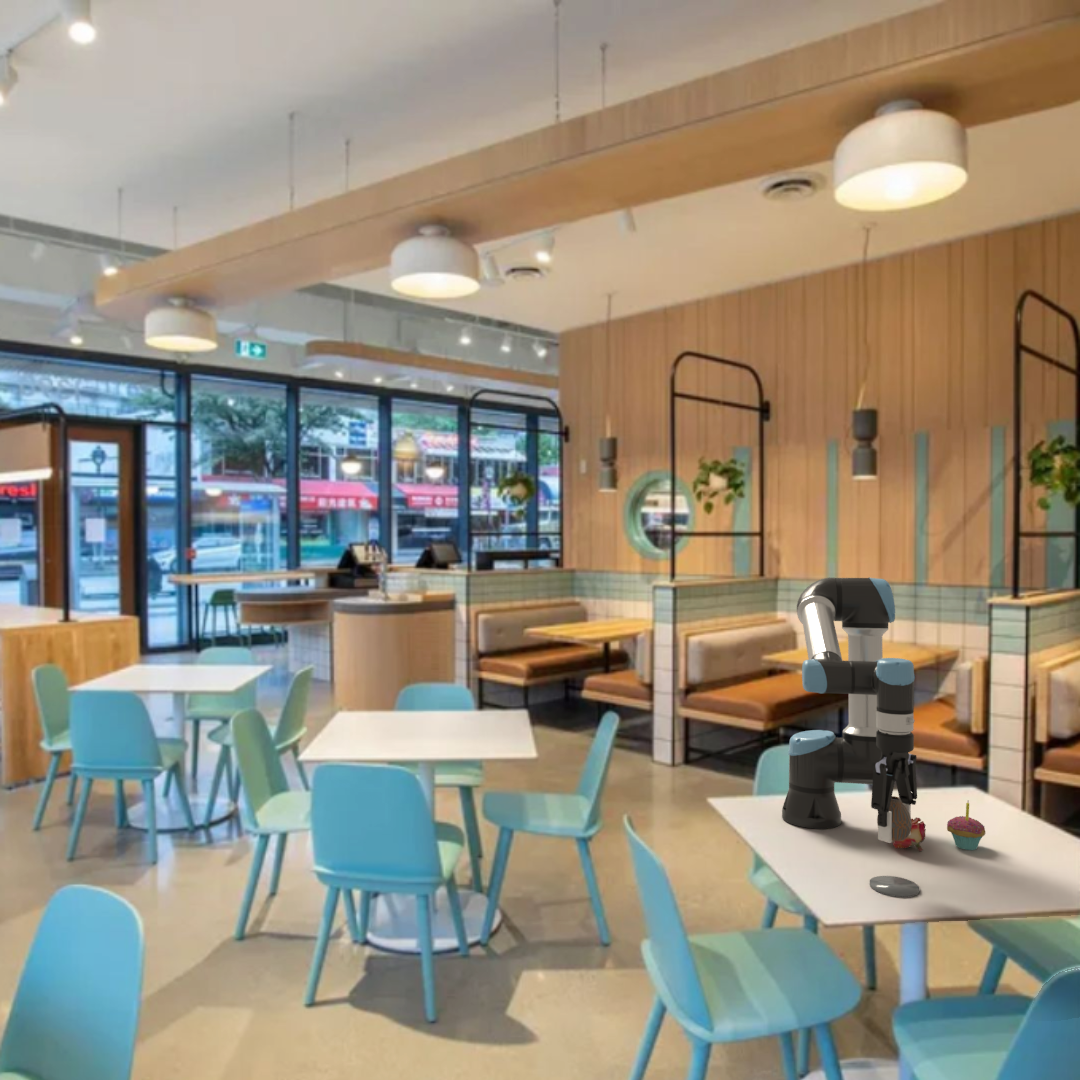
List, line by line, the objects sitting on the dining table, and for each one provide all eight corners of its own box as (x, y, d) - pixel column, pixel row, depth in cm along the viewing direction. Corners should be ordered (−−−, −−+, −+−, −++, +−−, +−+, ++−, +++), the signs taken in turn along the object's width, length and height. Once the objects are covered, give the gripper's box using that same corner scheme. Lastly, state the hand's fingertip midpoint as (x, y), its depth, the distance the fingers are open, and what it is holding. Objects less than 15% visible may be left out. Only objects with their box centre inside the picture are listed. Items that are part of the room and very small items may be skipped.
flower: (937, 840, 214) (917, 810, 217) (937, 844, 206) (916, 813, 209) (902, 859, 217) (882, 829, 220) (900, 864, 209) (880, 832, 212)
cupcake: (989, 854, 210) (990, 804, 210) (951, 851, 212) (951, 801, 212) (979, 841, 218) (979, 793, 218) (942, 839, 220) (942, 791, 220)
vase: (871, 833, 193) (871, 793, 193) (901, 832, 194) (902, 792, 194) (886, 844, 186) (886, 803, 186) (917, 843, 187) (917, 802, 187)
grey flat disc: (860, 885, 191) (860, 883, 191) (885, 874, 197) (885, 872, 197) (903, 901, 183) (903, 898, 183) (928, 889, 189) (928, 886, 189)
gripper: (885, 740, 181) (885, 852, 181) (935, 727, 193) (934, 832, 193) (853, 734, 187) (852, 842, 187) (903, 721, 199) (902, 823, 199)
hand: (894, 836), depth 190 cm, fingers closed on vase, 7 cm apart
